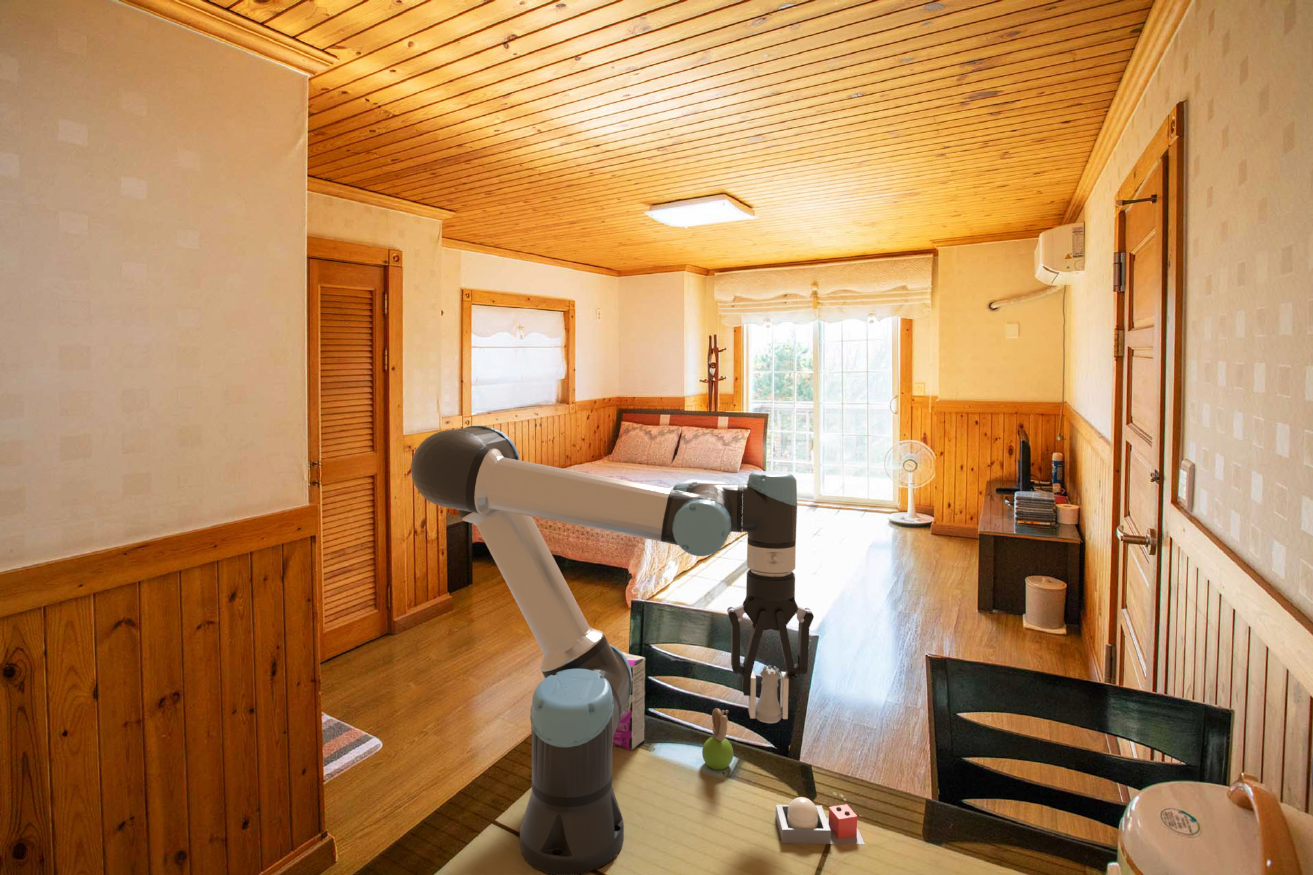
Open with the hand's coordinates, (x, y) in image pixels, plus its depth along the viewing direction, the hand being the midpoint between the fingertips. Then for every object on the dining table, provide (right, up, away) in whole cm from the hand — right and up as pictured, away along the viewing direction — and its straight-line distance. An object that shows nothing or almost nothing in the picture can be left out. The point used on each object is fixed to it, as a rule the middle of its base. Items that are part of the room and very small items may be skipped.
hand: (767, 714), depth 109 cm
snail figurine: (-7, -14, +11) cm, 19 cm away
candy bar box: (-26, -13, +21) cm, 36 cm away
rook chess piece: (0, -1, 0) cm, 1 cm away
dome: (+4, -14, -7) cm, 16 cm away
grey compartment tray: (+7, -15, -7) cm, 18 cm away
